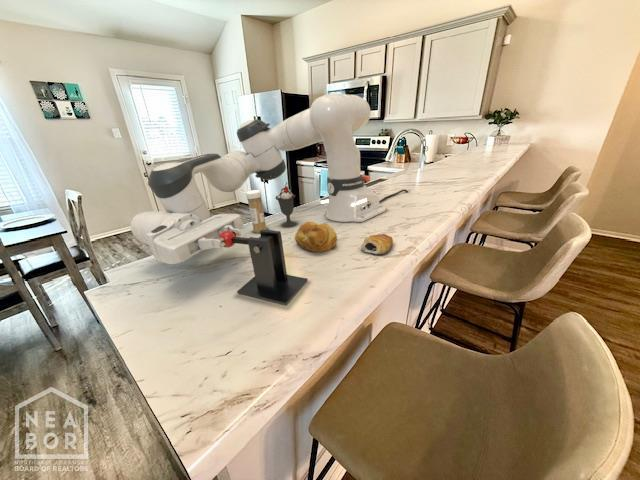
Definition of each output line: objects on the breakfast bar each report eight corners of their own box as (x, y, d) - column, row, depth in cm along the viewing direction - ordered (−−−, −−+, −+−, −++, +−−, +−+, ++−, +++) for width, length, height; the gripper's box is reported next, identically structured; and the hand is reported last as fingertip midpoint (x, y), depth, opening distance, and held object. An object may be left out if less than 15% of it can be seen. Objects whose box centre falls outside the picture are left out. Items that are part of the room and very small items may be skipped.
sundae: (293, 228, 88) (288, 184, 82) (276, 227, 90) (269, 183, 84) (301, 221, 93) (297, 179, 87) (285, 220, 96) (279, 179, 89)
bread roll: (288, 246, 76) (284, 220, 72) (313, 235, 82) (310, 210, 78) (319, 260, 67) (316, 231, 64) (344, 246, 73) (343, 219, 70)
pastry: (377, 238, 76) (377, 226, 74) (399, 244, 72) (400, 231, 70) (359, 251, 70) (358, 238, 68) (381, 258, 66) (382, 244, 64)
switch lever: (217, 249, 56) (212, 234, 55) (229, 242, 59) (225, 227, 58) (267, 256, 51) (264, 239, 49) (278, 248, 54) (275, 231, 52)
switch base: (238, 295, 55) (224, 240, 50) (263, 274, 63) (253, 224, 57) (286, 308, 50) (277, 248, 45) (308, 283, 58) (302, 229, 52)
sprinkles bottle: (269, 230, 88) (262, 191, 82) (256, 234, 86) (248, 193, 80) (263, 226, 91) (257, 188, 86) (251, 230, 89) (243, 191, 84)
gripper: (220, 228, 71) (262, 233, 65) (149, 265, 54) (196, 275, 49) (214, 206, 69) (257, 209, 63) (138, 237, 52) (187, 245, 46)
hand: (230, 238), depth 56 cm, fingers closed on switch lever, 3 cm apart
